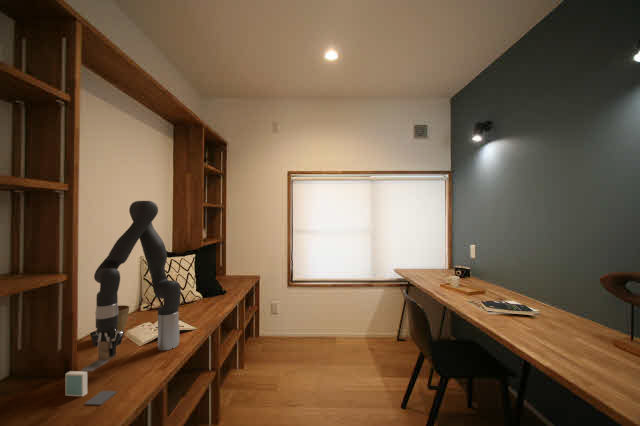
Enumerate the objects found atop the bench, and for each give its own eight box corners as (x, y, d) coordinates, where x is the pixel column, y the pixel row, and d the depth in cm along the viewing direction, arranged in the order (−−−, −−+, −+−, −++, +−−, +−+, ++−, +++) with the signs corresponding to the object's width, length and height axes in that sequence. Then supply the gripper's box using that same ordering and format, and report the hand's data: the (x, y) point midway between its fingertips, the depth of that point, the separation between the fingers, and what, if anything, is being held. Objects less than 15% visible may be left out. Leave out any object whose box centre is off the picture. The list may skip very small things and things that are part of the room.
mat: (102, 391, 102) (102, 390, 102) (117, 392, 101) (117, 391, 101) (84, 404, 95) (84, 403, 95) (100, 405, 94) (100, 404, 94)
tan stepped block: (106, 356, 116) (106, 337, 116) (116, 356, 115) (116, 337, 115) (81, 370, 105) (81, 350, 105) (91, 371, 104) (91, 350, 105)
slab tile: (70, 392, 102) (70, 371, 102) (87, 393, 101) (87, 371, 101) (65, 395, 100) (65, 374, 100) (82, 396, 99) (82, 374, 99)
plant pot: (130, 339, 147) (130, 309, 147) (95, 347, 137) (94, 316, 138) (128, 330, 158) (128, 303, 159) (95, 337, 149) (95, 308, 149)
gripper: (129, 312, 117) (130, 352, 117) (99, 311, 118) (99, 351, 118) (115, 318, 110) (115, 361, 109) (83, 317, 111) (83, 360, 111)
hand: (107, 355), depth 114 cm, fingers closed on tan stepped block, 4 cm apart
